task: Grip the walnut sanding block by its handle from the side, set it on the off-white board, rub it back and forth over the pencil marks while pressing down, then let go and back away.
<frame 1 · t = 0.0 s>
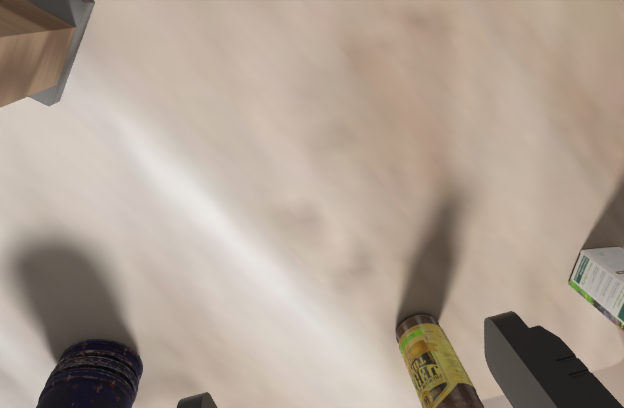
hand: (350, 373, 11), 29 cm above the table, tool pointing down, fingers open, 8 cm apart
sauce bottle: (414, 328, 53), on the table
storage jar: (102, 365, 48), on the table
sanding block: (44, 37, 31), on the table
syrup box: (592, 263, 52), on the table
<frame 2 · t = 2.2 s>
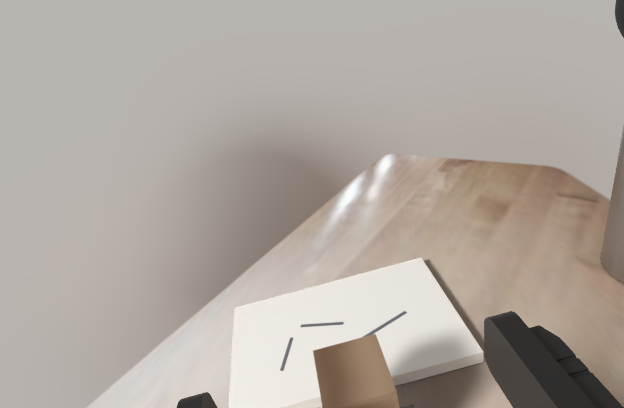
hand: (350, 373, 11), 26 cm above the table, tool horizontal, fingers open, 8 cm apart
board: (342, 335, 45), on the table
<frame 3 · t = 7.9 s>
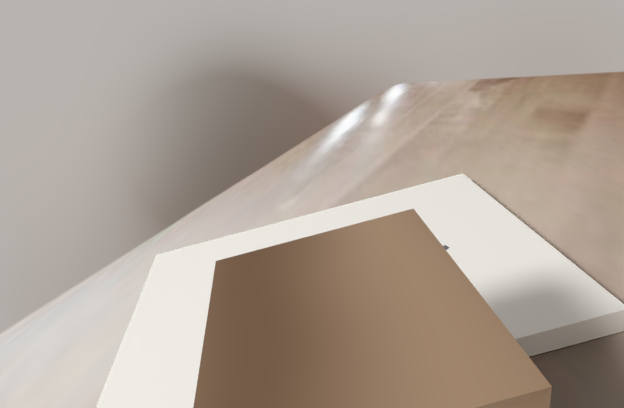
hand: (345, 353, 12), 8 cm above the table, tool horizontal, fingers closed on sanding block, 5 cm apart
board: (330, 291, 25), on the table
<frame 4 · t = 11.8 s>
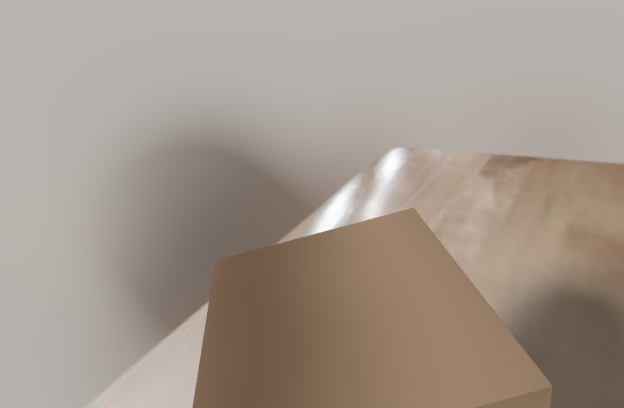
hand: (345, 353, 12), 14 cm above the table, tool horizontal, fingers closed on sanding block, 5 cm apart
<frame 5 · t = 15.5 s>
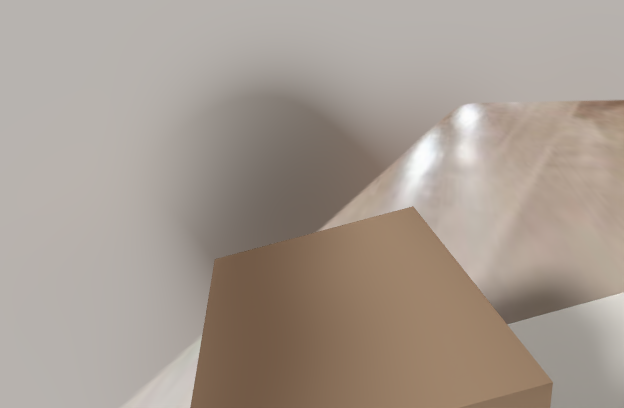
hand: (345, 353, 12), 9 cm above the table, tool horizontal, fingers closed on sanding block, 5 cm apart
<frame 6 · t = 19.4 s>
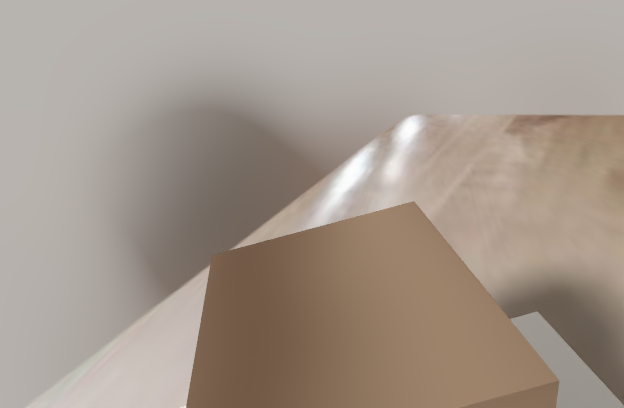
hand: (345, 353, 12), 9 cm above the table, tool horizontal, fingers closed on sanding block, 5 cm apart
when the fingers open (9 cm above the table, at t = 23.2 s): sanding block stays where it is, resting on board.
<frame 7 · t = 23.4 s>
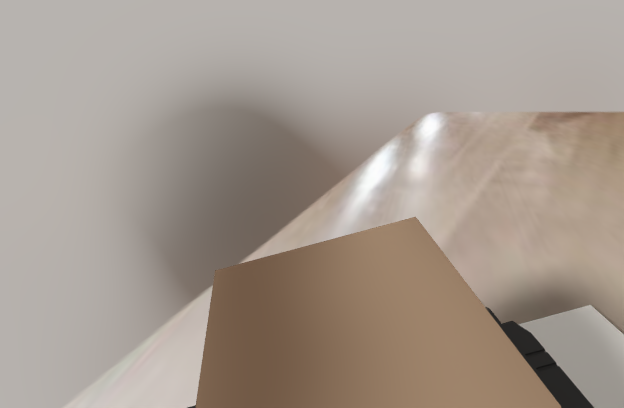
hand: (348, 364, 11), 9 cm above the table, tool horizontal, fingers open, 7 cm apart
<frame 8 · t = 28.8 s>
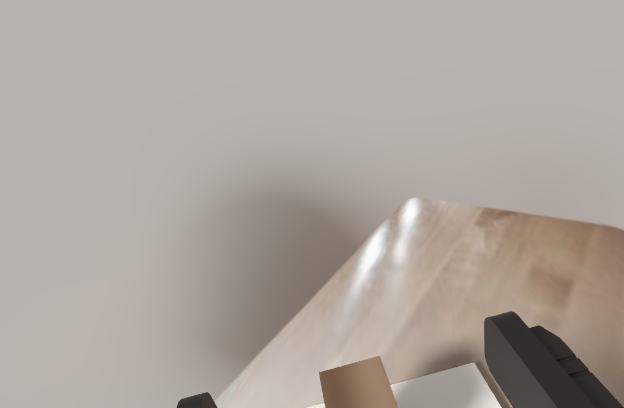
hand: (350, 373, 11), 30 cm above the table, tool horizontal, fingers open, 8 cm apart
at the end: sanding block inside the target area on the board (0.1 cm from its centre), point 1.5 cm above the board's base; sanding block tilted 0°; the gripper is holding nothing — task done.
